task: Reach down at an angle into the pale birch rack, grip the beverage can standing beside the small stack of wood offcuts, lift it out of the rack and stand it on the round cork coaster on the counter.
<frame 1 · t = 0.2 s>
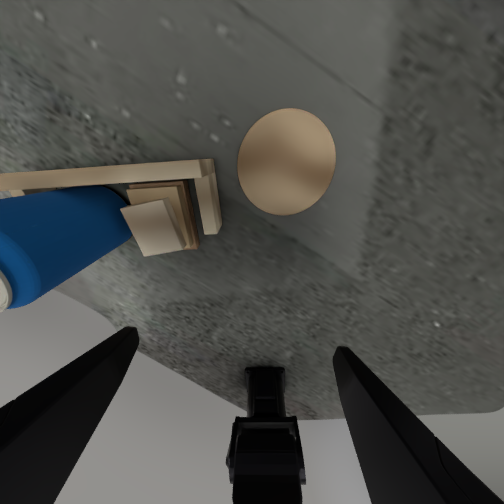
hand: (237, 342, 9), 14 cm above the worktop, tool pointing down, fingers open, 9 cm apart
rack: (133, 198, 20), on the worktop
beverage can: (109, 214, 21), on the worktop
cork coaster: (285, 167, 18), on the worktop
offcut stack: (170, 215, 21), on the worktop
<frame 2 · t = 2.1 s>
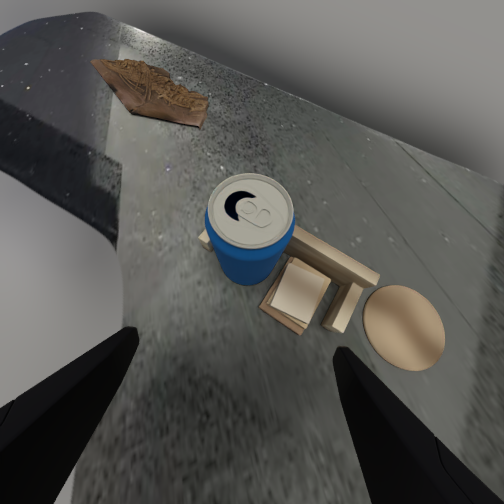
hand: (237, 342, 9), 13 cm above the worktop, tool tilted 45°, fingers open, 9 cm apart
rack: (277, 265, 24), on the worktop
beverage can: (247, 260, 24), on the worktop
cork coaster: (401, 325, 22), on the worktop
offcut stack: (292, 294, 23), on the worktop
wooden fragment: (147, 93, 34), on the worktop
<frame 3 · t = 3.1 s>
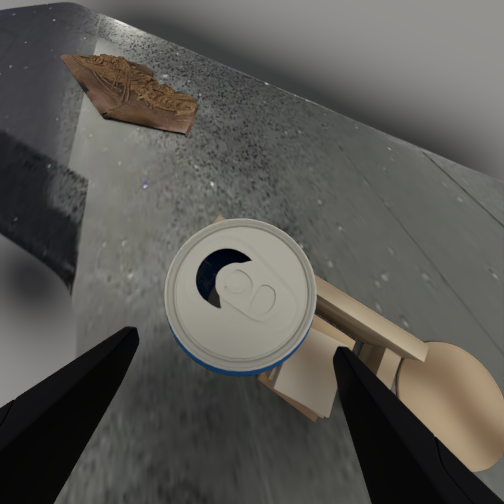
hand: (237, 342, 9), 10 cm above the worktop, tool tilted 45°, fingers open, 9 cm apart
rack: (281, 313, 18), on the worktop
beverage can: (242, 307, 19), on the worktop
cork coaster: (448, 398, 17), on the worktop
offcut stack: (302, 355, 17), on the worktop
wooden fragment: (126, 94, 28), on the worktop
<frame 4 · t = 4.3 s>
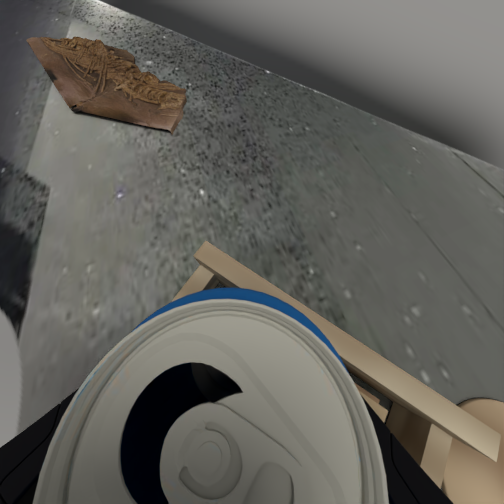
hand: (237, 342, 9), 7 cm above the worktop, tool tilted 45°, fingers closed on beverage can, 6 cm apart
rack: (286, 361, 14), on the worktop
beverage can: (237, 352, 15), on the worktop, touching gripper
offcut stack: (314, 420, 13), on the worktop
wooden fragment: (102, 83, 24), on the worktop
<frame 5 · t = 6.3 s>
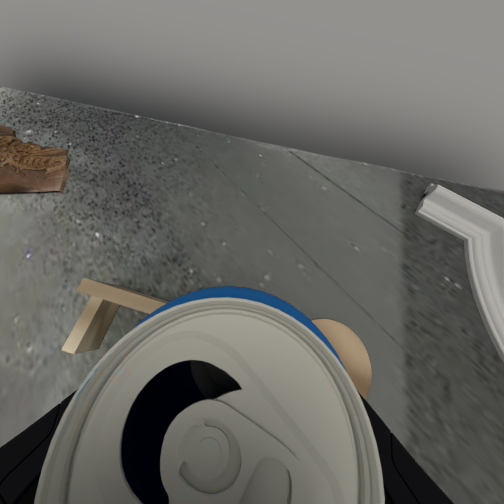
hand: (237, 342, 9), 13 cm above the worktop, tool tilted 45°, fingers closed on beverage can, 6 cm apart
rack: (180, 339, 21), on the worktop
beverage can: (236, 351, 15), point 6 cm above the worktop, touching gripper
cork coaster: (326, 364, 20), on the worktop
when the fingers open (8 cm above the worktop, at t = 8.3 s): beverage can stays where it is, resting on cork coaster.
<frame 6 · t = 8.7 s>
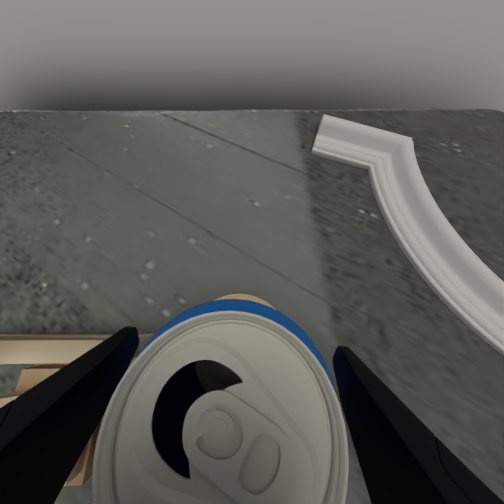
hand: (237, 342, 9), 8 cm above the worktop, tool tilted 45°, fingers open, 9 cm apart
molding: (429, 265, 20), on the worktop
rack: (33, 379, 15), on the worktop
beverage can: (237, 352, 16), resting on cork coaster
offcut stack: (71, 410, 14), on the worktop
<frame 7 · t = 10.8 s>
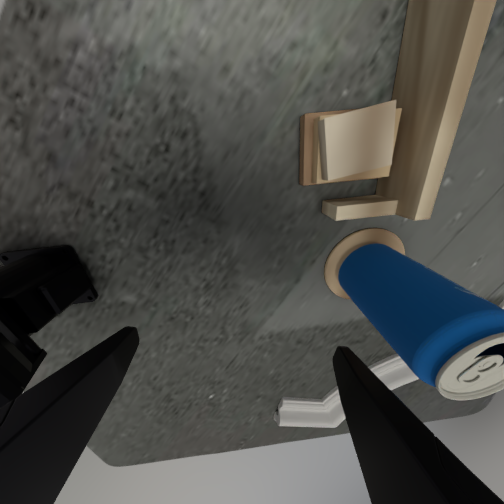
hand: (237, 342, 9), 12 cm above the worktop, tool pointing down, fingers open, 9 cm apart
molding: (386, 361, 31), on the worktop
rack: (367, 99, 16), on the worktop
beverage can: (362, 266, 22), resting on cork coaster
cork coaster: (362, 265, 22), on the worktop
offcut stack: (339, 149, 17), on the worktop
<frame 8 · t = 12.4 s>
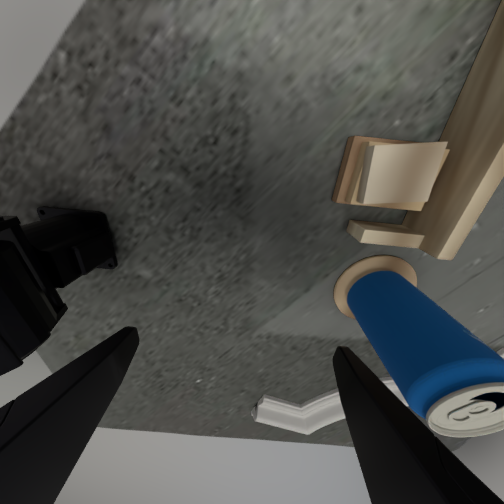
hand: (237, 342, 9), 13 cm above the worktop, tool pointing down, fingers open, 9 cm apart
molding: (371, 383, 32), on the worktop
rack: (417, 132, 16), on the worktop
beverage can: (372, 289, 23), resting on cork coaster
cork coaster: (372, 289, 23), on the worktop
offcut stack: (378, 174, 17), on the worktop
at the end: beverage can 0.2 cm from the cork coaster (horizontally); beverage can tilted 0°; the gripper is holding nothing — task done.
